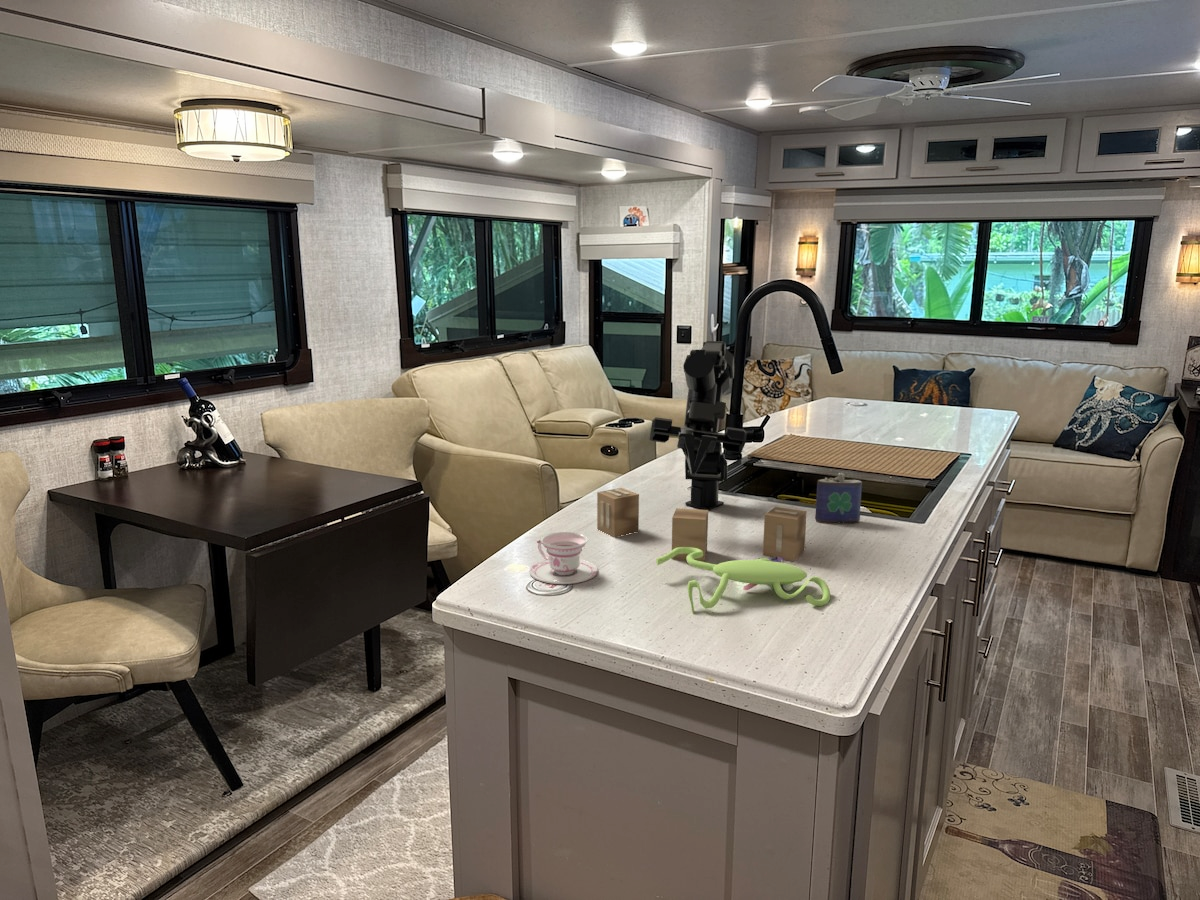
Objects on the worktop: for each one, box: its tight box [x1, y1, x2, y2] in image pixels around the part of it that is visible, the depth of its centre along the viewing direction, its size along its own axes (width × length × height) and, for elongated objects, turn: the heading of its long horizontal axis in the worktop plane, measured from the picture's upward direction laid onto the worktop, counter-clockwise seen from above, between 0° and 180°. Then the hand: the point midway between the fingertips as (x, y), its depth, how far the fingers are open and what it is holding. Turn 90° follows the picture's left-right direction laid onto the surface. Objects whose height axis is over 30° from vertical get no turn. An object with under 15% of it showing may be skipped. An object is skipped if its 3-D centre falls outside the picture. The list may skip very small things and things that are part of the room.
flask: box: [814, 472, 863, 525], centre depth 171 cm, size 9×3×11 cm, turn 87°
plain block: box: [670, 507, 709, 562], centre depth 151 cm, size 6×6×8 cm
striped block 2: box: [762, 506, 807, 562], centre depth 152 cm, size 6×6×8 cm
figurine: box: [655, 547, 831, 614], centre depth 136 cm, size 18×27×6 cm
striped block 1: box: [596, 487, 640, 538], centre depth 165 cm, size 6×6×8 cm
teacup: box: [529, 531, 599, 585], centre depth 143 cm, size 12×12×6 cm
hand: (693, 473), depth 159 cm, fingers closed
